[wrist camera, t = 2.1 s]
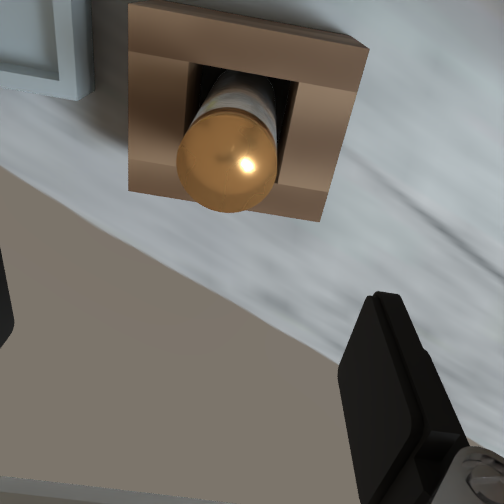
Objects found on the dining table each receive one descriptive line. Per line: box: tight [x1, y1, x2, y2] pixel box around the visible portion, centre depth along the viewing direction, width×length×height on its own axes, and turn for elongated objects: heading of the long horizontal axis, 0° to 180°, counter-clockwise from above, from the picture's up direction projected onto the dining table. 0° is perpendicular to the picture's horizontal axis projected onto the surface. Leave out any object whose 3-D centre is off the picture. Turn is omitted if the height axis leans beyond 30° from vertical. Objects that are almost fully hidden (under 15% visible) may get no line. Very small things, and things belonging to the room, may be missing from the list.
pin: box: [176, 69, 277, 213], centre depth 23 cm, size 4×4×12 cm
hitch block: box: [128, 0, 370, 222], centre depth 26 cm, size 10×12×6 cm
